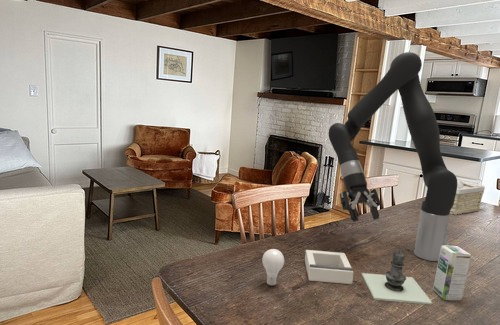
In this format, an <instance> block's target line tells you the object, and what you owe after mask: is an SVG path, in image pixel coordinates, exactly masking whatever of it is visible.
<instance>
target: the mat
mask: <svg viewBox="0 0 500 325" xmlns="http://www.w3.org/2000/svg"><path fill="white" fill-rule="evenodd" d="M361 277H362V279H363V281H364V283H365V285H366V286H367V288H368V291H369V292H370V294H371V296H372V298H373V300H374V301H386V302H396V303H408V304H418V305H431V306H432V305H433V302H432V300H431V298H430V297H429V296H428V295H427V293H425V291H424V290H423V289H422V288H421V286H420V285H419V284H418V283H417V281H416V280H415V278H414V277H412V276H411V277H410V276H405V277H406V280H405V282H404V283H403V284H402V285H401V286H403V291H399V292H397V291H392V290H390V289H388V288H387V287H385V283H386V282H388V281H387V279H386V275H385V274H377V273H367V272H366V273H365V272H361Z"/></svg>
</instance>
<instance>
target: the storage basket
mask: <svg viewBox="0 0 500 325" xmlns="http://www.w3.org/2000/svg"><path fill="white" fill-rule="evenodd" d="M485 190H486V189H485V186H484V185H483V184H479V183H474V182H470V181H465V180H461V179H457V191H456V196H455V200H454V204H453V207H452V209H451V210H450V213H451V214H450V215H453V214H454V215H455V216H458V215H462V213H463V214H468V213H474V212H478V211H479V210H480V206H481V203H482V198H483V195H484V194H485V193H484V192H485ZM457 214H458V215H457ZM454 215H453V216H454Z"/></svg>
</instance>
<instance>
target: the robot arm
mask: <svg viewBox="0 0 500 325" xmlns="http://www.w3.org/2000/svg"><path fill="white" fill-rule="evenodd" d="M422 65H423V64H422V59H421V58H420V56H419V55H418V54H417V53H415V52H411V51H409V52H408V51H407V52H406V51H405V52H403V53H400V54H399V55H397V56H395V58H393V59H392V61H391V63H390V66H389V69H388V71H387V72H386V74H385V75H384V76H383V77H381V79H380V81H379V82H378V83H377V84H375V86H374V87H372V89H371V90H369V91H368V92H367V93H366V94H365V95H364V96H362V98H360V100H359V101H357V103H356V104H355V105H354V106H353V107H352V108H351V109H350V110H349V111H348V112H347V115H346V116H347V120H346V122H345V123H341V122H335V123H333V124H331V125H330V127H328V128H329V129H328V133H327V134H328V139H329V142H330V144H331V146H332V148H333V150H334V153H335V154H336V158H337V161H338V164H339V168H340V175H341V177H342V181H343V185H344V188H345V190H344V191H342V192H340V193H339V198H340V201H341V206H342V209H343V210H344V211H345V210H346V211H348V212H349V216H350V220H351V221H352V222H353V223H355V222H359V217H358V213H357V210H356V205H359V204H361V205H362V204H364V205H366V206H367V207H368V208H370V213H371V216H372V219H373V221H375V220H378V219H379V218H380V214H379V210H378V207H379V206H381V205H382V203H381V200H380V198H379V195H378V192H377V190H376V189H375V188H372V189H371V190H369V189H368V182H367V179H366V175H365V172H364V169H363V167H362V165H361V162H360V159H359V155H358V153H357V150H356V148H355V147H354V146H353V144H352V142H353V140H354V139H355V138H356V137H357V135H358V134H359V132H360V131H361V129H362V128H363V126H364V125H365V124H366V123H367V122H368V121H369V120H370V119H371V118H372V117H373V116H374V114H376V113H377V111H379V109H380V108H382V106H383V105H384V104H385V103H386V102H387V100H388V99H389V98H390V97H392V95H393V94H395V93H396V92H397V90H398V93H399V96H400V98H401V104H402V108H403V113H404V117H405V121H406V125H407V128H408V132H409V134H410V137H411V139H412V142H413V146H414V148H415V151H416V152H417V155H418V158H419V163H420V166H421V171H422V180H423V182H424V184H425V186H426V188H427V189H426V195H425V199H424V201H422V202H421V206H420V213H419V218H418V226H417V231H416V232H417V233H416V237H415V244H414V250H413V254H414V255H415V256H416V257H418V258H420V259H422V260H425V261H430V262H438V261H439V255H440V250H441V246H446V245H448V241H449V234H447V230H448V225H449V219H450V215H451V214H450V210H451V209H452V207H453V204H454V200H455V196H456V191H457V180H458V178H457V176H456V175H455V173H454V172H452V171H450V170H449V169H448V168H447V166H446V164H445V161H444V159H443V156H442V153H441V147H440V146H441V142H440V141H441V136H440V135H441V134H440V127H439V124H438V121H437V117H436V114H435V112H434V109H433V108H432V105H431V103H430V102H429V100H428V98H427V97H426V94H425V92H424V91H423V88H422V85H421V84H422V83H421V80H420V75H419V74H420V72H421V70H422Z"/></svg>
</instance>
